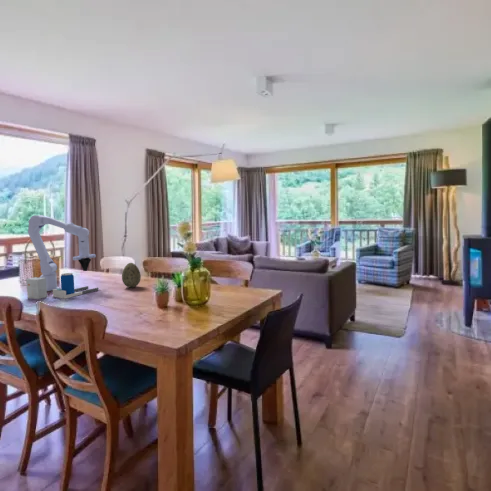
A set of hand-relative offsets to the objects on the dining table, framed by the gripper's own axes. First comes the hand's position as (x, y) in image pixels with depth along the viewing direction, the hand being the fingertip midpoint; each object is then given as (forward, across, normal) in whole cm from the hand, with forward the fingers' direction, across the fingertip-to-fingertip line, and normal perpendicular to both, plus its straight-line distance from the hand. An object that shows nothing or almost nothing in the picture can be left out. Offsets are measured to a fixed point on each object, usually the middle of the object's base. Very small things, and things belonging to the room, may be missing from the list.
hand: (85, 270), depth 219 cm
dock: (+10, -12, -7) cm, 17 cm away
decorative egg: (+11, +13, -24) cm, 29 cm away
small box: (+11, -28, +4) cm, 30 cm away
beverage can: (+11, -18, -7) cm, 22 cm away
